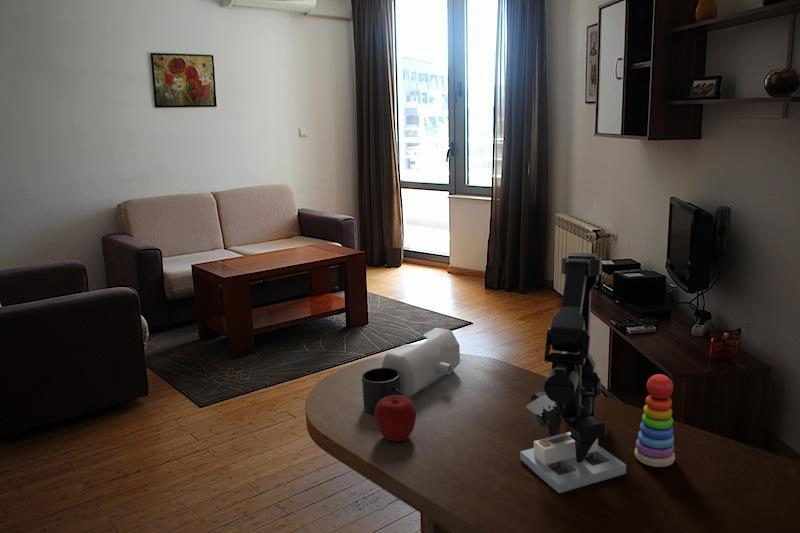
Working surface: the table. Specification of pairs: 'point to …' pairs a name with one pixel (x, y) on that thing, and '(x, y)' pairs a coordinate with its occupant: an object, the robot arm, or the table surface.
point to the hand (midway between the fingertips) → (566, 451)
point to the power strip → (558, 449)
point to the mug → (379, 386)
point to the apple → (395, 417)
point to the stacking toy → (656, 425)
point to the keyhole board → (575, 469)
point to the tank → (424, 361)
